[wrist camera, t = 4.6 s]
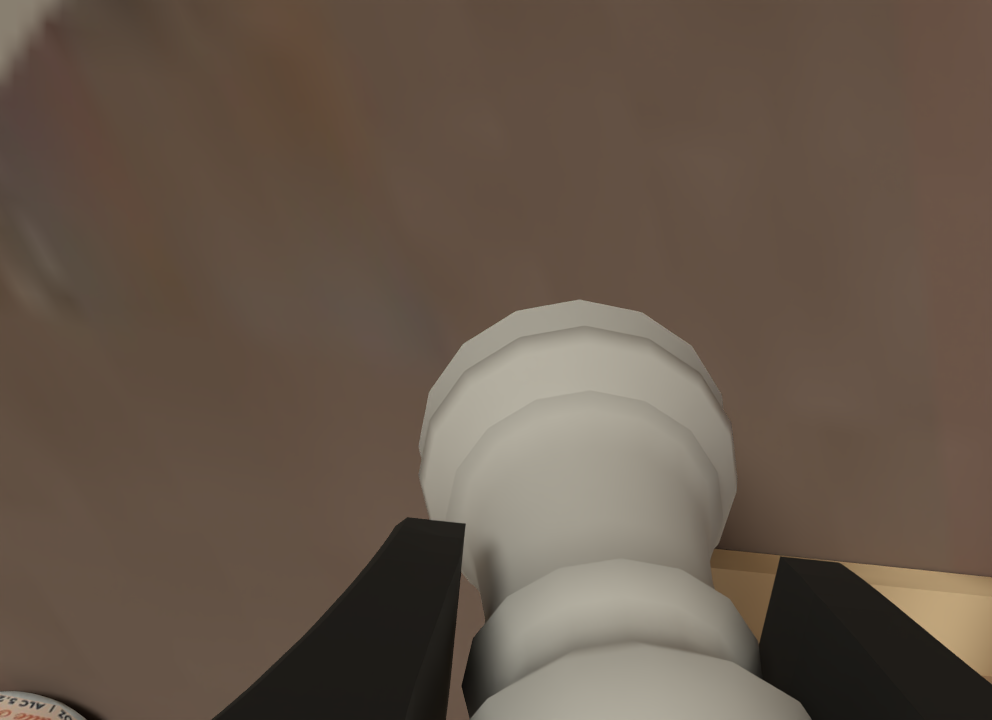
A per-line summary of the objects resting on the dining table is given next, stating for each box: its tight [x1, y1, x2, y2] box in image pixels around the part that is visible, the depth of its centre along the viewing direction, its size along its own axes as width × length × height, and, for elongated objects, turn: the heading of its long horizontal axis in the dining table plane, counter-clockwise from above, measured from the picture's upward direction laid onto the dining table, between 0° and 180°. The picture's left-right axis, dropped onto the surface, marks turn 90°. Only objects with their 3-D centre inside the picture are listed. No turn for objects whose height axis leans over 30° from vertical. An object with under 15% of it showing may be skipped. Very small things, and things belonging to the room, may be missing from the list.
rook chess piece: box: [419, 300, 812, 720], centre depth 10 cm, size 4×4×8 cm
